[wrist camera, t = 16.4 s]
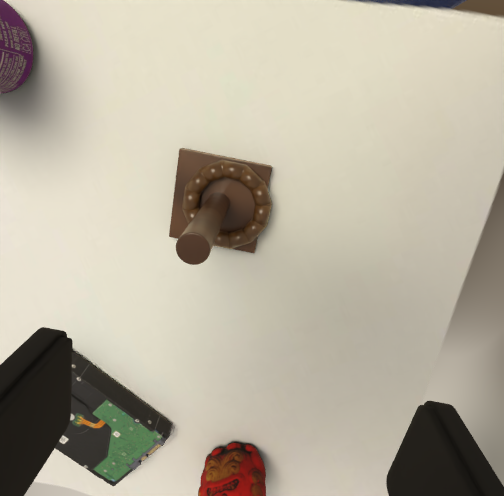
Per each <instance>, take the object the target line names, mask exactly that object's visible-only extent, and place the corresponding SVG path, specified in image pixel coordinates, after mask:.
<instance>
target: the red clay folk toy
mask: <svg viewBox="0 0 504 496" xmlns="http://www.w3.org/2000/svg"><path fill="white" fill-rule="evenodd" d="M265 478H266V472H265V466H264V463H263V461H262V459H261V457H260V455H259V453H258V451H257V450H256V448H255V447H254V446H252V445H251V444H246V445H243V444H239V443H235V442H234V443H231V444H229V445H228V446H227V447H224V448H221V447H219V448H216V449H214V450H213V451H212V453H211V454H209V455H208V456H207V457H206V461H205V468H204V470H203V473H202V476H201V486H200V488H199V492H198V496H266V486H265Z"/></svg>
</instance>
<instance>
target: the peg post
mask: <svg viewBox="0 0 504 496" xmlns="http://www.w3.org/2000/svg"><path fill="white" fill-rule="evenodd" d="M221 160H226V161H231V162H236V163H241V164H245V165H247V166H249V167H250V168H251V169H252V170H253V171H254V172H255V173H256V174H258V175H259V176H260V177H261V178H262V179H263V180H264V181H265V183H266V186H267V189H268V184H269V179H270V174H271V169H272V166H270V165H265V164H260V163H255V162H250V161H245V160H240V159H235V158H230V157H225V156H220V155H215V154H210V153H205V152H200V151H195V150H190V149H185V148H181V149H180V150H179V158H178V166H177V175H176V183H175V192H174V200H173V208H172V217H171V225H170V233H169V237H173V238H179V239H178V241H177V243H176V252H177V254H178V256H179V257H180V259H181V260H183V261H184V262H186V263H188V264H192V265H196V264H200V263H202V262H204V261H205V260H206V259H207V258H208V256H209V254H210V252H211V249H212V247H213V245H214V242H215V240H216V237H217V235H218V233H219V231H222V232H227V233H231V232H234V231H237V230H240V229H243V228H244V227H245V226H246V225H247V224H248V223H249V222H250V220H251V219H252V218H253V213H254V208H255V202H254V199H253V196H252V193H251V191H250V190H249V189H248V188H247V187H246V186H245V185H244V184H242V183H241V182H240V181H239V180H234V179H229V178H225V177H224V178H221V179H218V180H215V181H212V182H210V183H209V184H208V185H207V186H206V188H205V189H204V190H203V191H202V192H201V195H200V202H199V211H198V213H197V214H196V216H195V217H194V218H193V220H192V221H191V222H190V224H189V225H188V223H187V220H186V218H185V215H184V213H183V210H182V205H183V198H184V190H185V186H186V184H187V183H188V182H189V181H190V179H191V178H192V177H193V176H194V174H195V173H196V172H197V171H198V169H199V168H201V167H203V166H206V165H209V164H212V163H215V162H218V161H221ZM257 237H258V236H257ZM257 237H256V238H255V239H254V241H253V242H251V243H248V244H245V245H242V246H239V247H235V248H232V249H236V250H241V251H246V252H251V253H254V252H255V247H256V242H257Z"/></svg>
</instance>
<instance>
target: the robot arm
mask: <svg viewBox="0 0 504 496" xmlns="http://www.w3.org/2000/svg"><path fill="white" fill-rule="evenodd" d="M71 389H72V339H71V338H67V334H66V332H64V331H60V330H55V329H50V328H44V327H43V328H40V329H39V330H37V331H36V332H35V333H34V334H33V335H32V336H31V337H30V338H29V339H28V340H27V341H26V342H24V343H23V344H22V345H21V346H20V347H19V348H18V349H17V350H16V351H15V352H14V353H13V354H12V355H10V356H9V357H8V358H7V359H6V360H5V361H4V362H3V363H2V364H1V365H0V496H24V494H25V493H26V492H27V490H28V488H29V487H30V485H31V484H32V482H33V481H34V479H35V478H36V476H37V475H38V473H39V471H40V470H41V468H42V467H43V465H44V464H45V462H46V461H47V459H48V457H49V456H50V454H51V453H52V451H53V450H54V448H55V447H56V445H57V443H58V442H59V440H60V439H61V437H62V436H63V434H64V433H65V431H66V429H67V427H68V425H69V422H70V418H71ZM387 490H388V493H389V496H504V487H503V485H502V484H501V482H500V480H499V479H498V477H497V476H496V474H495V472H494V471H493V470H492V467H491V466H490V464H489V463H488V461H487V460H486V458H485V456H484V455H483V453H482V451H481V450H480V448H479V447H478V445H477V443H476V442H475V440H474V439H473V437H472V435H471V434H470V432H469V431H468V429H467V428H466V426H465V424H464V423H463V421H462V419H461V418H460V416H459V414H458V413H457V411H456V410H455V408H454V407H453V406H452V405H449V404H444V403H439V402H434V401H427V402H426V403H425V404H424V405H420V406H419V407H418V408H417V410H416V413H415V415H414V417H413V419H412V421H411V424H410V426H409V428H408V430H407V432H406V435H405V437H404V439H403V441H402V444H401V446H400V448H399V450H398V452H397V455H396V457H395V459H394V461H393V463H392V466H391V468H390V470H389V472H388V475H387Z"/></svg>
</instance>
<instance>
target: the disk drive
mask: <svg viewBox="0 0 504 496" xmlns="http://www.w3.org/2000/svg"><path fill="white" fill-rule="evenodd" d="M171 428H172V424H171V423H169V422H168V421H167V419H165V418H164V417H163V416H161V415H160V414H159V413H157V412H156V411H155V410H153V409H152V408H150V407H149V406H148V405H146V404H145V403H144V402H142V401H141V400H140V399H138V398H137V397H136V396H134V395H133V394H131V393H130V392H129V391H127V390H126V389H124V388H123V387H122V386H120V385H119V384H118V383H116V382H115V381H114V380H112V379H111V378H109V377H108V376H107V375H106V374H104V373H103V372H101V371H100V370H99V369H97V368H96V367H95V366H93V365H92V364H91V363H89V362H88V361H86V360H85V359H83V358H82V357H81V356H79V355H77V354H76V353H75V352H72V389H71V418H70V422H69V425H68V427H67V429H66V431H65V433H64V434H63V436H62V437H61V439H60V440H59V442H58V443H57V445H56V447H55V449H57V450H59V451H60V452H62V453H63V454H64V455H66V456H68V457H69V458H71V459H72V460H73V461H75V462H76V463H79V465H81V466H83V467H85V468H86V469H87V470H89V471H90V472H92V473H93V474H94V475H96V476H97V477H99V478H101V479H103V480H104V481H106V482H107V483H109V484H110V485H112V486H115V485H116V484H117V483H118V482H120V481H121V480H122V479H123V478H125V477H126V476H127V475H128V474H129V473H130V472H132V471H133V470H135V469H136V468H137V467H138V466H139V465H141V462H142V460H143V461H144V460H145V459H146V458H147V457H148V455H151V454H152V453H153V452H154V451H155V450H156V449H158V448H159V447H160V446H163V444H164V443H165V440H166V439H167V438H168V437H169V435H170V431H171Z"/></svg>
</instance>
